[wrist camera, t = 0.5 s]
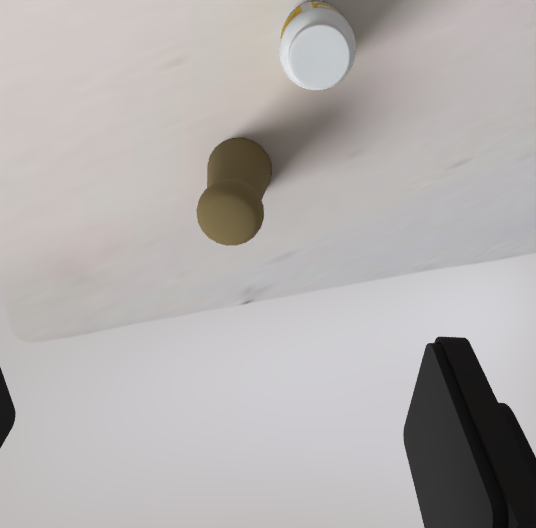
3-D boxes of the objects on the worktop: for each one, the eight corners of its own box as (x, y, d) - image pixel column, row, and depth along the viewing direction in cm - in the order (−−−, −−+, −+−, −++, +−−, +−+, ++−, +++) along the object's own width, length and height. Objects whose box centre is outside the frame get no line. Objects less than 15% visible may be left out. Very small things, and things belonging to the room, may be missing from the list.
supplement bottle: (338, -9, 39) (353, -1, 30) (352, 61, 41) (369, 87, 33) (272, 12, 39) (268, 27, 31) (290, 80, 42) (291, 109, 34)
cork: (276, 142, 45) (273, 191, 36) (267, 203, 48) (263, 262, 39) (209, 133, 45) (190, 180, 35) (205, 194, 48) (186, 252, 39)
